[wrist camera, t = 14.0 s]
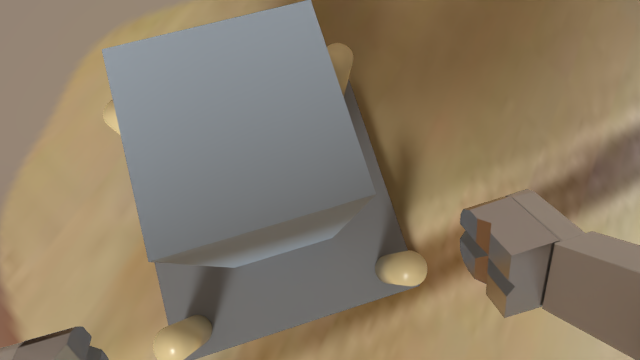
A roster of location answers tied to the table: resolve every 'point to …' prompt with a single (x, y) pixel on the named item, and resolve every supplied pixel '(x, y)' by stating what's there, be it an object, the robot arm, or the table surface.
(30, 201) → the table surface
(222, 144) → the slate block
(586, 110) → the table surface
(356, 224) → the grey peg base
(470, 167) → the table surface
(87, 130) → the table surface
